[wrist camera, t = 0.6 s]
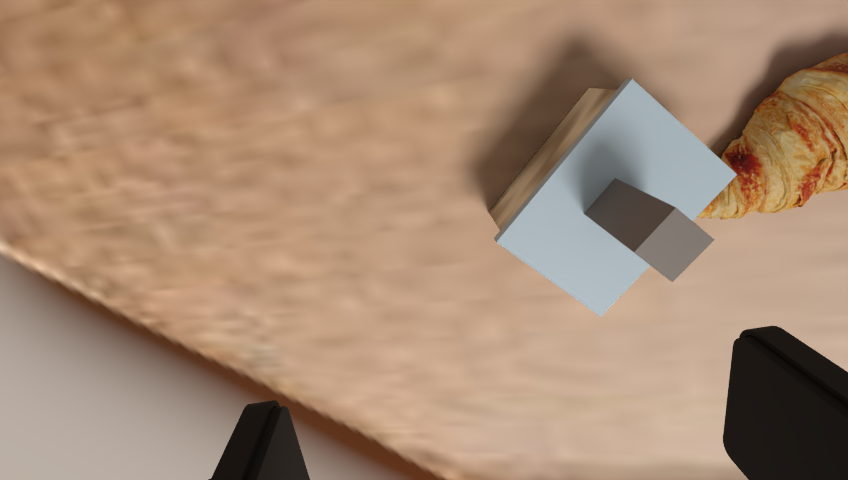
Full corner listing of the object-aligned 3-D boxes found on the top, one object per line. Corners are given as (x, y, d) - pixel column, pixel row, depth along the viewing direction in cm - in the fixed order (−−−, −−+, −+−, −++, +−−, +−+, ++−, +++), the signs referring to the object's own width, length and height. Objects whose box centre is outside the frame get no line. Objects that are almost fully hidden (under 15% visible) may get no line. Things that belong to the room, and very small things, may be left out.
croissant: (674, 220, 42) (743, 282, 37) (653, 155, 35) (735, 220, 30) (900, 65, 38) (1017, 109, 32) (928, -44, 31) (1084, -12, 25)
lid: (626, 78, 28) (705, 79, 21) (729, 172, 31) (831, 202, 23) (494, 238, 31) (522, 287, 24) (596, 311, 34) (650, 376, 27)
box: (589, 87, 34) (626, 90, 28) (669, 158, 36) (718, 173, 31) (488, 212, 37) (504, 236, 31) (568, 270, 39) (596, 303, 34)
